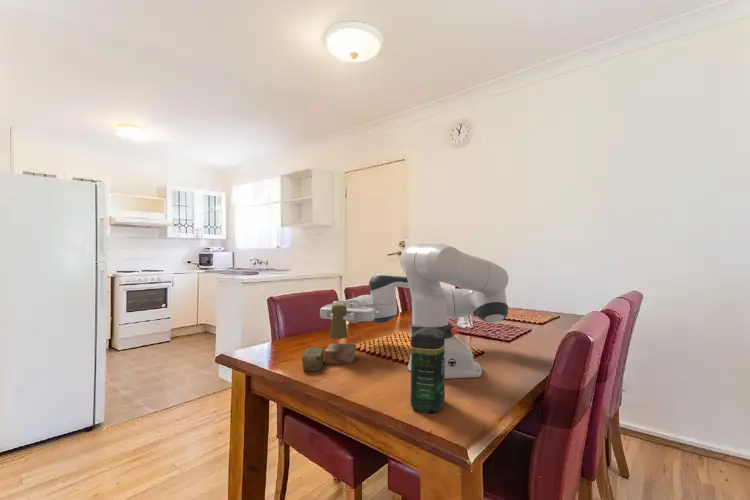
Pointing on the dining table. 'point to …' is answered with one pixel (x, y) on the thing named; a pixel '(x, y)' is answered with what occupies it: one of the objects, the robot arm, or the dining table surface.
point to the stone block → (313, 359)
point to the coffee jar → (427, 369)
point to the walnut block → (339, 353)
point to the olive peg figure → (338, 322)
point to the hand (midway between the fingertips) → (338, 317)
